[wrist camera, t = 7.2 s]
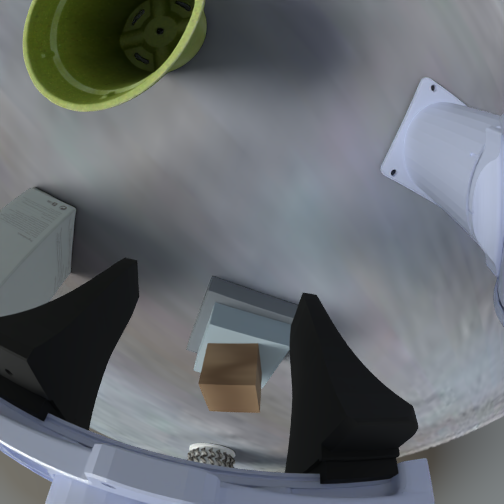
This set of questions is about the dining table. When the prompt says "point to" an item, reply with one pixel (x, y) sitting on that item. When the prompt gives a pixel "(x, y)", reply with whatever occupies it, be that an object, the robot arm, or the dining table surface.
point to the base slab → (238, 306)
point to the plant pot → (107, 48)
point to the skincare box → (34, 250)
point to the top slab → (247, 336)
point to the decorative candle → (211, 454)
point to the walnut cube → (232, 377)
